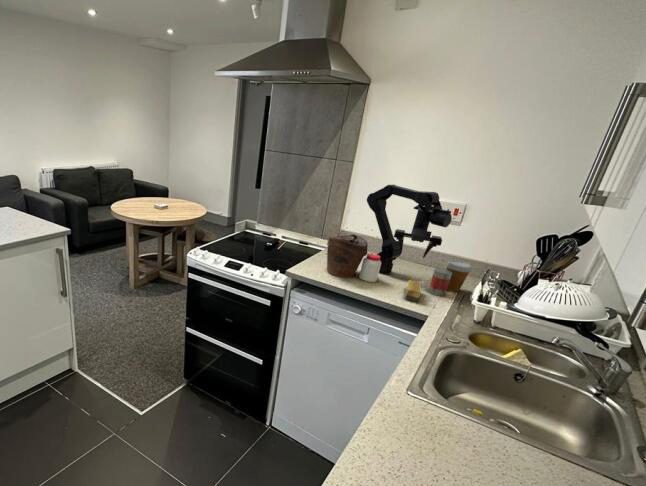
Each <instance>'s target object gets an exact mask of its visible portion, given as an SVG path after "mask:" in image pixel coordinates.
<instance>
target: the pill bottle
mask: <svg viewBox="0 0 646 486" xmlns="http://www.w3.org/2000/svg"><path fill="white" fill-rule="evenodd" d="M376 254H377V253H367V255H366V256H365V257H364V258H363V259H362V262H361V263H362V264H361V266H360V267H361V268H360V271H359V275H358V277H359V279H360V280H363V281H365V282H371V283H372V282H373V283H375V282H377V281H378V278H379V274H380V273H379V271H380V267H381V261H380V256H379V255H376Z"/></svg>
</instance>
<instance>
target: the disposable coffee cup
mask: <svg viewBox="0 0 646 486" xmlns="http://www.w3.org/2000/svg"><path fill="white" fill-rule="evenodd" d="M445 269H446V270H449V271H451V272H452V276H451V279H450V282H449V285H448V288H447V290H446V291H448V292H451V293H459V292H460V290H461V289H462V287H463V285H464V282H465V281H466V279H467V277H468V276H469V274H470V272H471V271H472V265H471V264H469V263H466V262H464V261H459V260H449V261H448V262H447V263H446V268H445Z"/></svg>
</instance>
